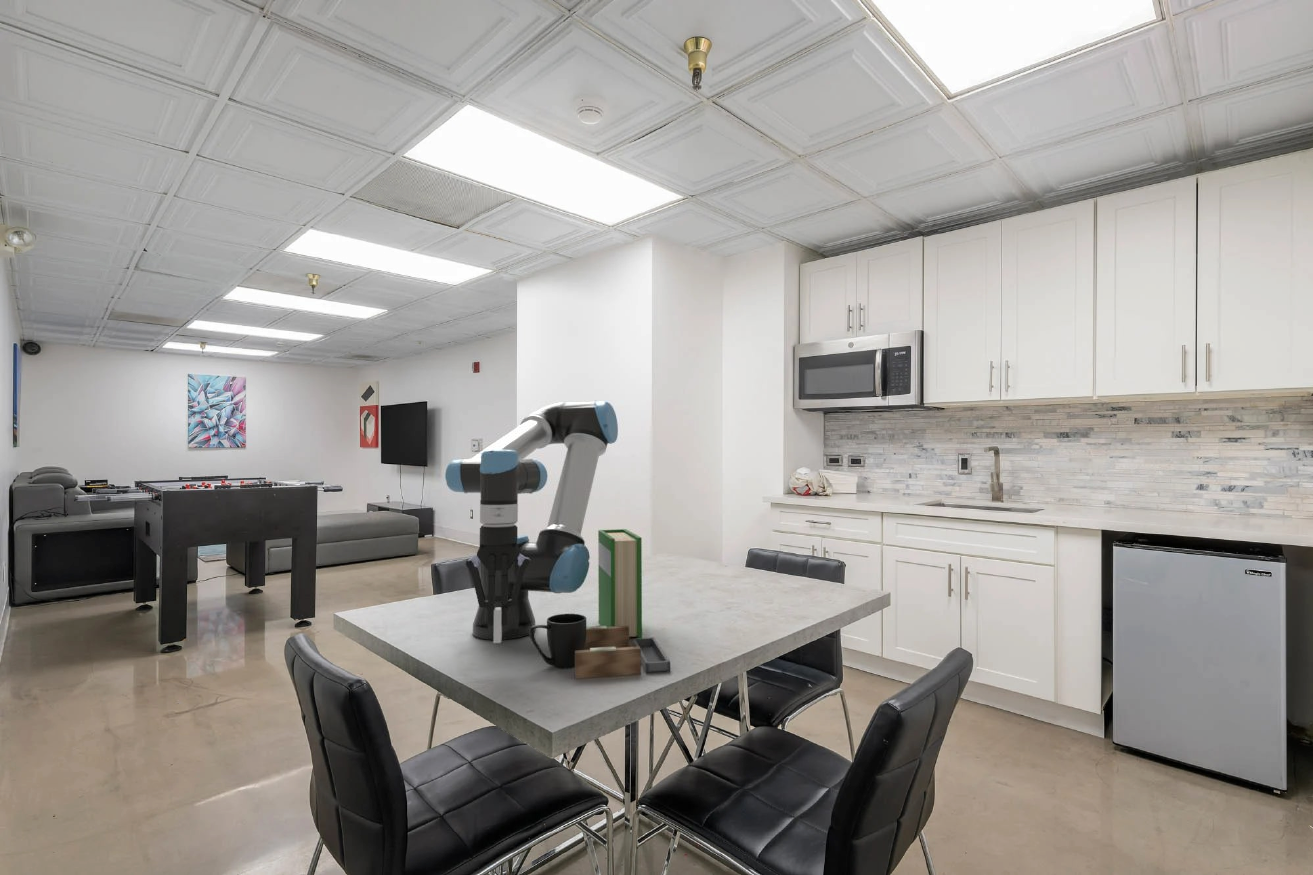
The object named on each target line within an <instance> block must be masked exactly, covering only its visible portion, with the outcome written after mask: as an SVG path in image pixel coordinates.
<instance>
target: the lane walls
mask: <svg viewBox="0 0 1313 875" xmlns="http://www.w3.org/2000/svg"><path fill="white" fill-rule="evenodd" d="M641 674H642V665H641V648H640V646H638V647H632V646H630V637H629V627H628V626H615V627H606V626H601V625H594V626H593V625H591V626H586V641H585V646H584V650H577V651H575V667H574V679H575V680H576V679H577V680H578V679H589V678H590V679H591V678H593V679H594V678H602V677H603V678H605V677H606V678H607V677H615V676H616V677H618V676H632V675H641Z"/></svg>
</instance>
